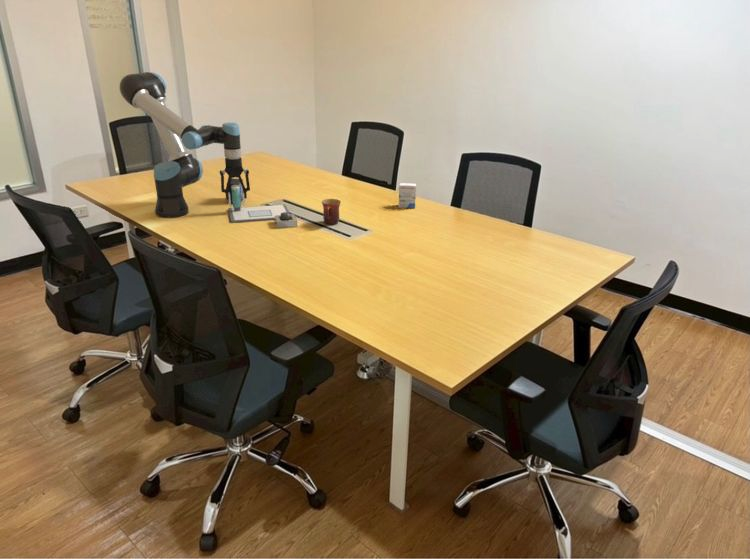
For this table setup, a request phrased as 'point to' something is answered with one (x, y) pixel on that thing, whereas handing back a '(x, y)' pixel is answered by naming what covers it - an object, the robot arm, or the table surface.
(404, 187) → the ink box
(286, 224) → the button housing
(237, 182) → the small box
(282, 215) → the button
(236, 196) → the marker
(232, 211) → the sheet
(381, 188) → the table surface
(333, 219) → the mug
